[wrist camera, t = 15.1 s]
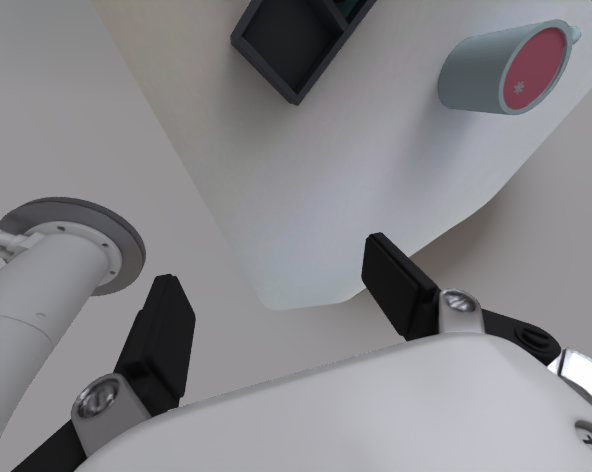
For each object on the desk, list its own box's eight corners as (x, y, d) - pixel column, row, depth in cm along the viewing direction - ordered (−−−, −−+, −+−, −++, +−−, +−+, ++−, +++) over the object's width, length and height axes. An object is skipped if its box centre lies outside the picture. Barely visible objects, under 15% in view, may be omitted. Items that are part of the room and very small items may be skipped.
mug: (442, 120, 39) (498, 129, 31) (433, 60, 34) (498, 52, 25) (519, 70, 37) (600, 66, 29) (523, -1, 32) (623, -31, 24)
